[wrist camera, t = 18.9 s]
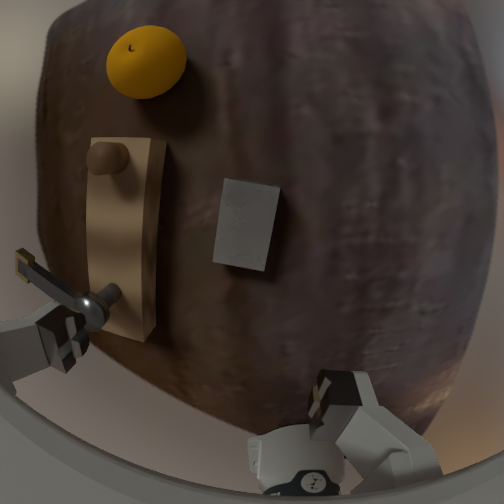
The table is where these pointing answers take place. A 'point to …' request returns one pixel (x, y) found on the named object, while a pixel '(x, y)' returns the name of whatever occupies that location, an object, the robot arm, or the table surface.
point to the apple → (146, 62)
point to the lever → (63, 291)
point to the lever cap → (245, 223)
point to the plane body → (124, 229)
